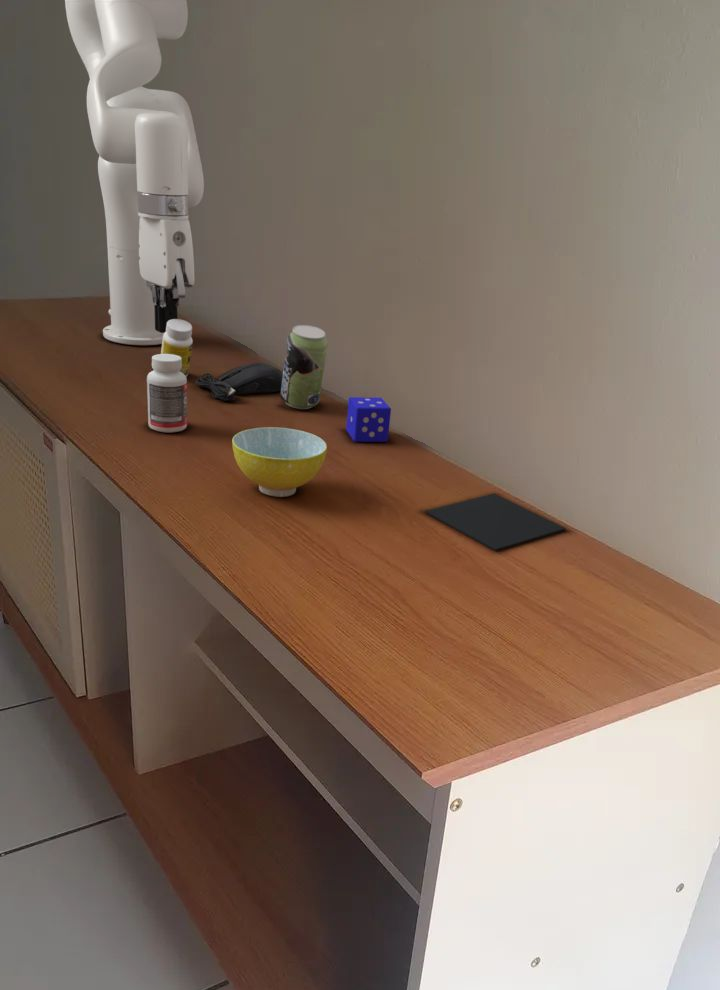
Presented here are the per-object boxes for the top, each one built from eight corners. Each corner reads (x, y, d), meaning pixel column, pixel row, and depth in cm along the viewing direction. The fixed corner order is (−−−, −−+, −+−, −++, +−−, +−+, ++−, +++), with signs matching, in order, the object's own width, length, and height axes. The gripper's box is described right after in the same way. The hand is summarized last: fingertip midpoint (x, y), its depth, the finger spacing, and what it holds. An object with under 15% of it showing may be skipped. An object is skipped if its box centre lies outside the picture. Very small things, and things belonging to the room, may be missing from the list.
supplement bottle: (190, 381, 152) (197, 333, 147) (161, 379, 151) (167, 331, 145) (184, 365, 155) (191, 318, 150) (156, 363, 154) (161, 316, 148)
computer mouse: (302, 394, 151) (304, 370, 149) (222, 404, 143) (223, 379, 141) (269, 377, 158) (270, 354, 156) (191, 385, 150) (191, 361, 148)
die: (346, 430, 137) (348, 396, 135) (378, 430, 139) (382, 397, 136) (354, 442, 133) (357, 407, 131) (387, 442, 134) (391, 408, 132)
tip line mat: (425, 512, 114) (425, 510, 113) (494, 495, 120) (494, 493, 120) (495, 551, 106) (496, 549, 106) (565, 530, 113) (565, 528, 112)
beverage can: (301, 397, 149) (305, 319, 143) (332, 410, 145) (338, 330, 139) (270, 403, 145) (273, 323, 139) (302, 416, 141) (306, 335, 135)
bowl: (304, 469, 122) (307, 423, 119) (337, 504, 113) (341, 455, 110) (220, 476, 118) (220, 428, 115) (247, 512, 109) (248, 461, 106)
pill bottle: (193, 431, 131) (193, 361, 126) (157, 435, 129) (155, 363, 124) (177, 419, 135) (176, 350, 130) (142, 423, 132) (139, 353, 127)
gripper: (210, 213, 139) (210, 339, 148) (161, 201, 149) (165, 320, 158) (164, 212, 135) (167, 343, 144) (118, 200, 145) (123, 323, 154)
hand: (166, 331), depth 151 cm, fingers closed
